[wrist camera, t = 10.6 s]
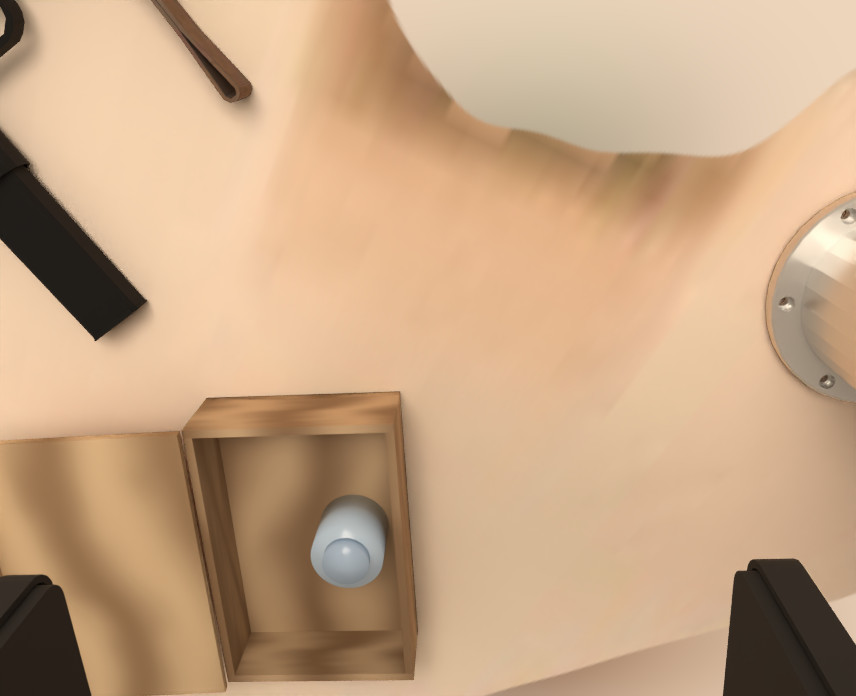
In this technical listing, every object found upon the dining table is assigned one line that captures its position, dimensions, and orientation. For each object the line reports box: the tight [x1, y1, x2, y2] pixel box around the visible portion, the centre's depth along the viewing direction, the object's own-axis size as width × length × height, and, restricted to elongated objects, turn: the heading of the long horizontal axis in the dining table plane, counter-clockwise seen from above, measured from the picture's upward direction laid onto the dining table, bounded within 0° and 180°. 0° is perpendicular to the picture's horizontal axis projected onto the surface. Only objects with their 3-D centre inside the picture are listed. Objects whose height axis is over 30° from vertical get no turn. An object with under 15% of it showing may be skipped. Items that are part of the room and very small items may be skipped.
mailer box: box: [182, 392, 418, 682], centre depth 48 cm, size 12×18×4 cm, turn 3°
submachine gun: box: [0, 0, 252, 341], centre depth 40 cm, size 4×29×25 cm
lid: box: [0, 431, 227, 696], centre depth 45 cm, size 13×18×2 cm
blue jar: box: [311, 495, 389, 588], centre depth 48 cm, size 4×4×4 cm
